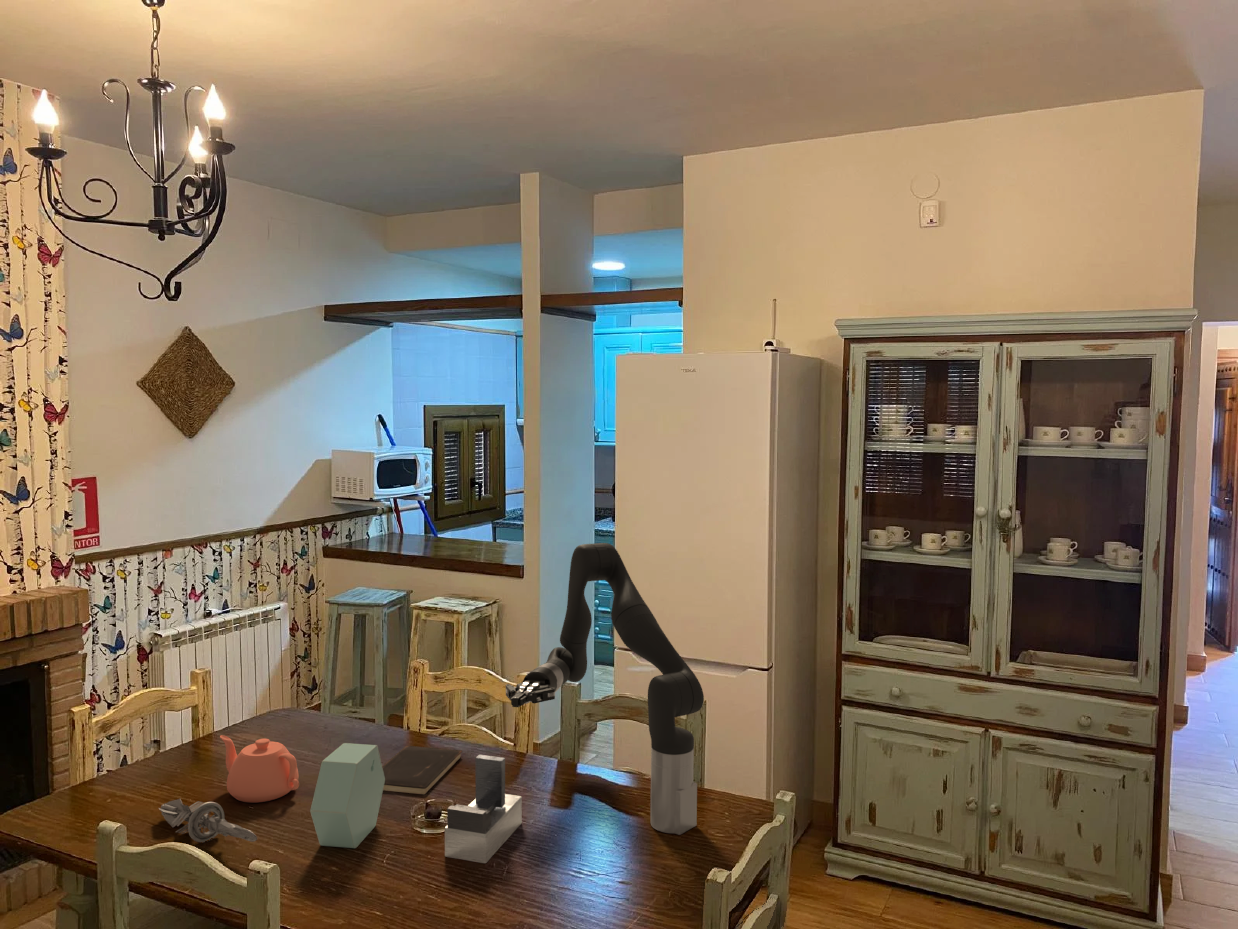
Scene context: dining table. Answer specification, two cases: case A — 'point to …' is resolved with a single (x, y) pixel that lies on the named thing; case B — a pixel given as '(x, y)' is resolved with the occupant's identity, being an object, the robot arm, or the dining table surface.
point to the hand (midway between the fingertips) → (515, 703)
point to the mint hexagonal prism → (348, 795)
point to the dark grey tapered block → (490, 782)
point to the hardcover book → (417, 768)
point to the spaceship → (203, 821)
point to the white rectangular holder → (480, 829)
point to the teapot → (260, 771)
